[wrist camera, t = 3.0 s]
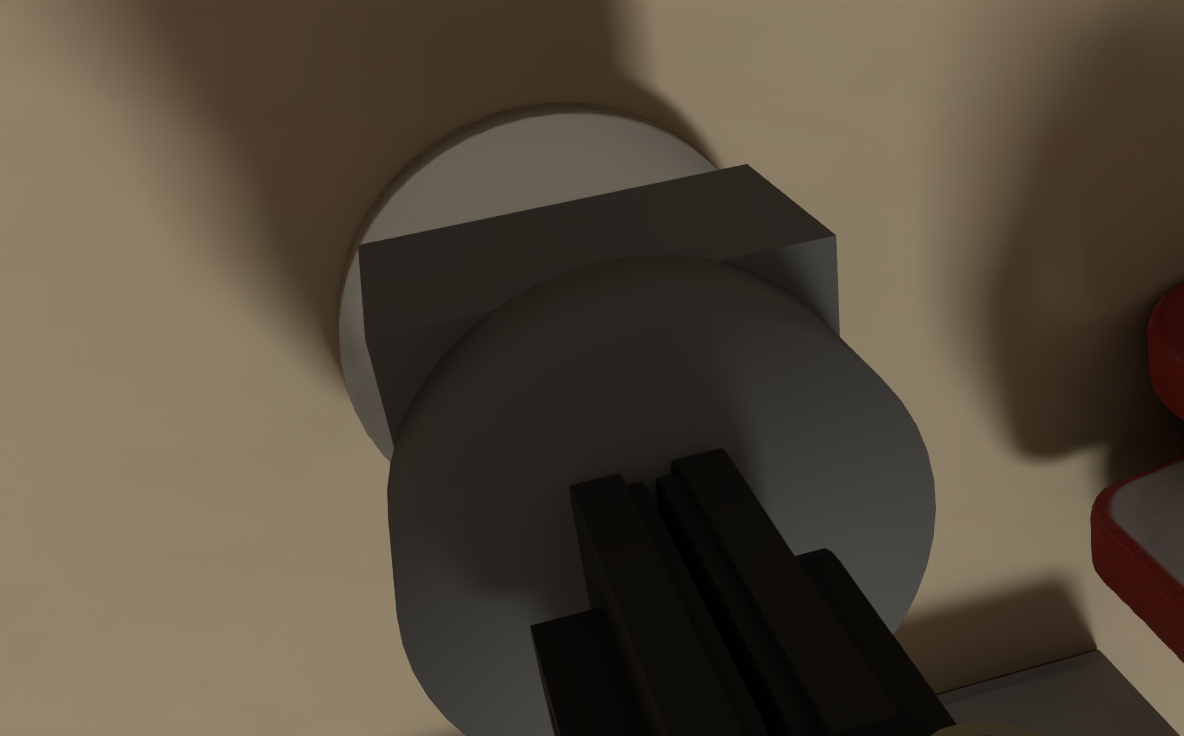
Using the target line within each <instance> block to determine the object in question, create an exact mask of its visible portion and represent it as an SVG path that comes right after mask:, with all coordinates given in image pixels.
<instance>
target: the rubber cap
mask: <svg viewBox="0 0 1184 736" xmlns="http://www.w3.org/2000/svg"><path fill="white" fill-rule="evenodd" d="M358 253H359V266H360V280H361V293H362V306H363V320H364V333H365V341H366V345H367V348H368V352H369V356H370V360H371V363H372V367H373V371H374V375H375V378H376V382H377V386H378V390H379V393H380V397H381V401H382V405H383V408H384V412H385V416H386V420H387V423H388V427H389V431H390V435H391V438H392V442H393V446H394V451H393V454H392V458H391V463H390V471H389V479H388V488H387V497H388V521H389V533H390V544H391V555H392V566H393V578H394V589H395V600H396V611H397V619H398V624H399V629H400V634H401V638H402V643H403V647H404V649H405V652H406V655H407V657H408V660H409V662H410V665H411V667H412V670H413V673H414V674H415V676H416V678H417V679H418V681H419V683H420V684H421V686H422V688H423V689H424V691H425V693H426V694H427V696H428V697H429V699H430V700H431V701H432V702H433V703H434V705H435V706H436V707H437V708H438V709H439V710H440V712H441V713H442V714H443V715H444V716H445V718H446V719H447V720H449V721H450V722H451V723H452V724H453V725H454V726H456V727H457V728H458V729H459V730H460V731H461V732H462V733H464V734H465V735H466V736H554V733H553V728H552V724H551V720H550V716H549V712H548V708H547V703H546V699H545V695H544V690H543V686H542V681H541V677H540V672H539V668H538V663H537V658H536V654H535V649H534V644H533V640H532V635H531V629H530V626H531V625H535V624H538V623H542V622H546V621H550V620H554V619H557V618H561V617H565V616H569V615H573V614H576V613H580V612H584V611H588V610H591V609H590V604H589V598H588V593H587V587H586V582H585V576H584V571H583V565H582V560H581V554H580V548H579V543H578V537H577V532H576V526H575V521H574V515H573V510H572V504H571V498H570V490H569V487H570V485H573V484H577V483H581V482H585V481H589V480H593V479H597V478H601V477H606V476H610V475H614V474H618V473H619V474H621V476H622V478H623V479H624V481H625V483H626V485H630V484H634V483H638V482H643V483H644V485H645V486H646V488H647V490H648V492H649V494H650V496H651V498H652V500H653V502H654V504H655V506H656V508H657V510H658V512H659V506H658V499H657V492H656V479H657V478H658V477H662V476H666V475H670V474H671V462H672V460H674V459H678V458H682V457H686V456H691V455H695V454H699V453H703V452H707V451H711V450H715V449H719V448H722V449H724V450H725V451H726V452H727V454H728V455H729V457H730V458H731V460H732V461H733V463H734V464H735V466H736V467H737V469H738V470H739V472H740V473H741V475H742V476H743V478H744V479H745V481H746V482H747V484H748V485H749V487H750V489H751V490H752V492H753V493H754V495H755V496H756V498H757V499H758V501H759V502H760V504H761V505H762V507H763V508H764V510H765V511H766V513H767V514H768V516H769V517H770V519H771V520H772V522H773V524H774V525H775V527H776V528H777V530H778V531H779V533H780V534H781V536H782V537H783V539H784V540H785V542H786V543H787V545H788V546H789V548H790V549H791V551H792V552H793V554H794V555H795V556H796V555H800V554H804V553H808V552H811V551H815V550H819V549H823V548H826V549H828V550H830V551H832V552H833V553H834V554H835V556H836V557H837V558H838V559H839V560H840V561H841V563H842V564H843V566H844V567H845V568H846V570H847V571H848V573H849V574H850V575H851V577H852V578H853V580H854V581H855V582H856V584H857V585H858V587H859V588H860V589H861V591H862V592H863V594H864V595H865V596H866V598H867V599H868V601H869V602H870V603H871V605H872V606H873V608H874V609H875V610H876V612H877V613H878V615H879V616H880V617H881V619H882V620H883V622H884V623H885V624H886V626H887V627H888V629H889V630H890V631H891V633H892V634H893V635H894V633H895V632H896V630H897V629H898V627H899V626H900V624H901V622H902V621H903V619H904V617H905V615H906V613H907V611H908V609H909V607H910V606H911V604H912V602H913V600H914V598H915V596H916V594H917V591H918V588H919V586H920V583H921V580H922V578H923V575H924V572H925V569H926V567H927V563H928V559H929V554H930V550H931V545H932V541H933V536H934V524H935V512H936V504H935V488H934V478H933V474H932V469H931V465H930V460H929V456H928V452H927V449H926V447H925V444H924V442H923V440H922V437H921V435H920V432H919V430H918V427H917V425H916V424H915V422H914V420H913V419H912V417H911V415H910V414H909V412H908V411H907V409H906V407H905V406H904V404H903V403H902V401H901V400H900V399H899V398H898V396H897V395H896V394H895V393H894V392H893V391H892V390H891V389H890V387H889V386H888V385H887V384H886V383H885V382H884V381H883V380H882V378H881V377H880V376H879V375H878V374H877V373H876V372H875V371H874V370H873V369H872V368H871V367H870V366H868V365H867V364H866V363H865V362H864V361H863V360H862V359H861V358H860V357H859V356H858V355H857V354H856V353H855V352H854V351H853V350H852V349H851V348H850V347H849V346H848V345H847V344H846V343H845V342H844V341H843V340H842V339H841V338H840V330H839V302H838V274H837V246H836V235H835V234H834V233H832V232H831V231H830V230H829V229H827V228H826V227H825V226H824V225H822V224H821V223H820V222H819V221H817V220H816V219H815V218H814V217H812V216H811V215H810V214H809V213H807V212H806V211H805V210H804V209H802V208H801V207H800V206H799V205H797V204H796V203H795V202H794V201H792V200H791V199H790V198H789V197H787V196H786V195H785V194H784V193H782V192H781V191H780V190H779V189H777V188H776V187H775V186H774V185H772V184H771V183H770V182H769V181H767V180H766V179H765V178H764V177H763V176H761V175H760V174H759V173H758V172H756V171H755V170H754V169H753V168H751V167H750V166H749V165H748V164H745V165H740V166H735V167H730V168H726V169H721V170H716V171H711V172H706V173H702V174H697V175H692V176H687V177H682V178H678V179H673V180H668V181H663V182H658V183H653V184H649V185H644V186H639V187H634V188H629V189H625V190H620V191H615V192H610V193H605V194H601V195H596V196H591V197H586V198H581V199H577V200H572V201H567V202H562V203H557V204H553V205H548V206H543V207H538V208H533V209H529V210H524V211H519V212H514V213H509V214H505V215H500V216H495V217H490V218H485V219H480V220H476V221H471V222H466V223H461V224H456V225H452V226H447V227H442V228H437V229H432V230H428V231H423V232H418V233H413V234H408V235H404V236H399V237H394V238H389V239H384V240H380V241H375V242H370V243H365V244H360V245H358Z"/></svg>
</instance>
